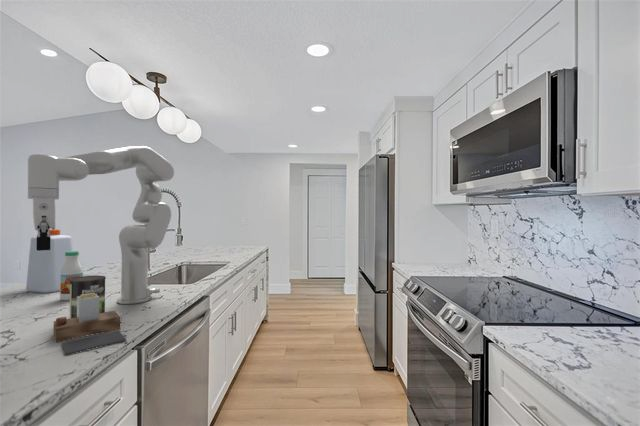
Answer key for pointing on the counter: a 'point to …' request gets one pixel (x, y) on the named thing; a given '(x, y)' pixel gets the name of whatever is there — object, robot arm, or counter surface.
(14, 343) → the counter surface
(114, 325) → the brown knobbed block
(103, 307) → the coffee can
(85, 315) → the lever cap
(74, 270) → the milk bottle
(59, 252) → the plastic bottle
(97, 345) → the rubber mat
